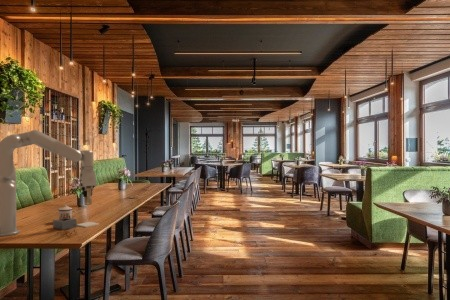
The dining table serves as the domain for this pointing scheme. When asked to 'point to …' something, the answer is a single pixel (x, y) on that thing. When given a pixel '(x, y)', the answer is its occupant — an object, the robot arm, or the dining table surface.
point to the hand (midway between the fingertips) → (87, 196)
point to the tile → (87, 224)
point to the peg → (88, 196)
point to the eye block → (64, 223)
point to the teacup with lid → (66, 212)
